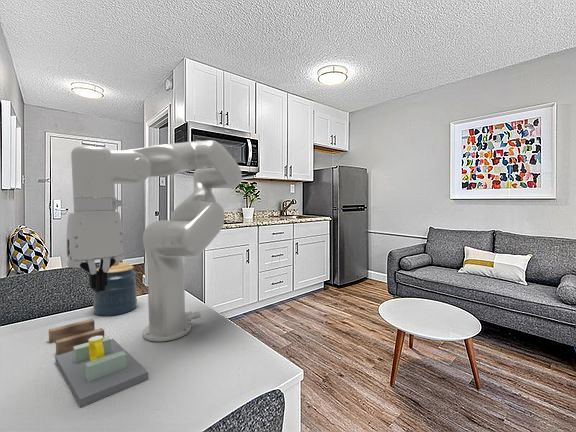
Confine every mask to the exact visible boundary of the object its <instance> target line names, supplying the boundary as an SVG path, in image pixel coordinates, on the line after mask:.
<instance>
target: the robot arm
mask: <svg viewBox="0 0 576 432" xmlns="http://www.w3.org/2000/svg"><path fill="white" fill-rule="evenodd" d="M70 157H71V158H70V160H71V175H72V176H71V177H72V178H71V179H72V180H71V181H72V198H73V212H70V213H69V214H68V217H67V223H66V224H67V225H66V247H65V249H66V257H67V258H68V259H67V262H66V266H67V267H69V268H71V269H72V268H74V269H75V268H76V269H83V270H85V272H87V273H88V275H89V289H92V291H93V290H94V291H95V292H96V293H97V292H100V291H105V286H107V272H108V271H109V269H110V268H111V267H112V266H113V264H114V263H116V262H119V263H120V262H121V261H122V262H123V261H124V260H125V259H126V256H125V248H126V247H125V244H126V243H125V236H124V235H125V234H124V231H123V230H124V228H123V224H122V218H121V214H120V212H119V211H116V210H117V208H119V207H122V206H123V201H122V200H119V199H117V197H116V192H115V191H116V187H115V186H116V185H117V184H119V185H120V184H121V185H122V184H124V185H125V184H127V185H128V184H139V183H142V182H145V181H146V180H148V178H149V177H165V176H166V177H168V176H174V175H177V174H180V173H184V172H190V171H194V172H193V176H192V177H193V179H192V180H193V192H192V193H191V194H190V195H189V196H188V197H187V198H185V200H183V201H182V202H181V203H180V204H179V205H178V206H176V207H175V208H174V210H173V211H172V213H171V215H170V220H168V219H166V220H165V219H164V220H163V219H162V220H156V221H153V222H151V223H150V224H148V225H147V226H146V227H145V229H144V231H143V233H142V243H143V248H144V252H145V258H146V265H147V295H148V296H147V297H148V298H147V300H148V325H147V326H146V327H144V329H143V330H142V337H143V338H144V339H145V340H147V341H150V342H158V343H159V342H160V343H161V342H168V341H173V340H177V339H179V338H181V337H183V336H186V335H187V334H188V333H189V332H190V331H191V328H192V325H191V323H190V322H191V321H192V320H196V319H200V318H201V316H202V315H201V311H200V310H197V311H195V312H193V311H191V310H190V311H186V296H185V294H186V293H185V291H186V290H185V277H186V276H185V267H184V263H183V260H182V258H181V257H197V256H198V255H200V254H202V253H203V252H204V251H205V250H206V248H207V247H208V246H209V245H210V244H211V243H212V242H213V241H214V239H215V238H216V237H217V236H218V234H219V233H220V232H221V230H222V229H223V227H224V224H225V218H226V217H225V216H226V215H225V210H224V208H223V206H222V205H221V204H220V203H218V202H217V199H216V196H215V194H214V193H213V189H232V188H236V187H238V186H239V185H240V184H241V182H242V179H243V178H242V177H243V176H242V175H243V174H242V170H241V167H240V166H239V163H238V162H237V161H236V160H235V159H234V158H233V157H232V155H231V154H230V152H229V151H228V150H227V149H226V148H225V146H223V145H222V144H221V143H219V142H218V141H216V140H213V139H211V140H210V139H208V140H195V141H183V142H174V143H165V144H157V145H150V146H146V147H140V148H133V149H125V150H124V149H123V150H116V149H112V150H111V149H108V148H105V147H100V146H91V145H90V146H89V145H81V146H76V147H74V148H73V149H72V150H71V152H70ZM97 260H99V267H98V268H99V269H98V271H97V270H96V269H97V266H96V262H95V261H97Z"/></svg>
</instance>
